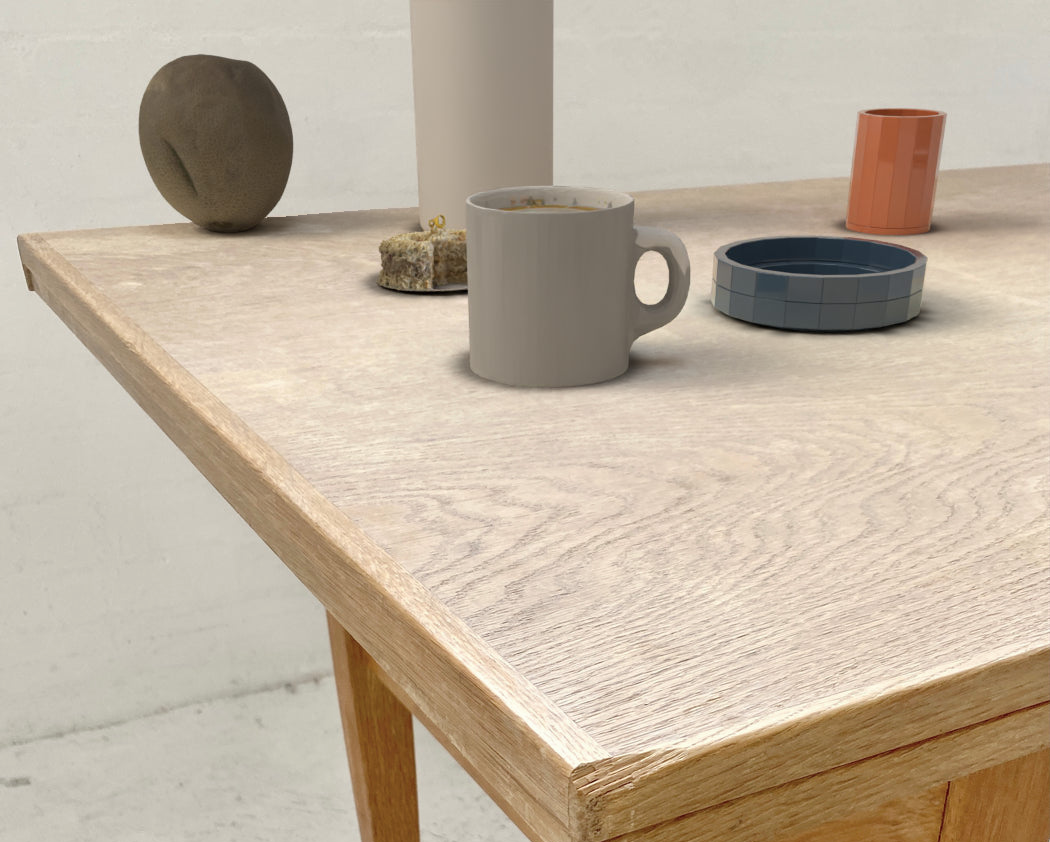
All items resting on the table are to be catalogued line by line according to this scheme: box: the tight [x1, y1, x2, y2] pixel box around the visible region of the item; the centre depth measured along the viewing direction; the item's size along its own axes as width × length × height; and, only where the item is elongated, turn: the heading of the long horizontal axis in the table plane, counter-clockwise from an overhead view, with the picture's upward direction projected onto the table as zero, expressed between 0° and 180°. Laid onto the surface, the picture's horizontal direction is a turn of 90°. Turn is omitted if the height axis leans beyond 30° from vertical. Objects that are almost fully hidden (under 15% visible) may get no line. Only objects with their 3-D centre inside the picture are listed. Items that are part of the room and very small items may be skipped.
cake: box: [376, 215, 468, 293], centre depth 100 cm, size 10×10×5 cm
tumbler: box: [845, 107, 948, 236], centre depth 117 cm, size 8×8×10 cm
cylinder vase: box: [408, 0, 555, 231], centre depth 115 cm, size 12×12×25 cm
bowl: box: [710, 234, 929, 332], centre depth 92 cm, size 15×15×4 cm
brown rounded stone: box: [138, 53, 294, 233], centre depth 119 cm, size 14×14×15 cm
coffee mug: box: [466, 185, 691, 388], centre depth 78 cm, size 13×10×10 cm
